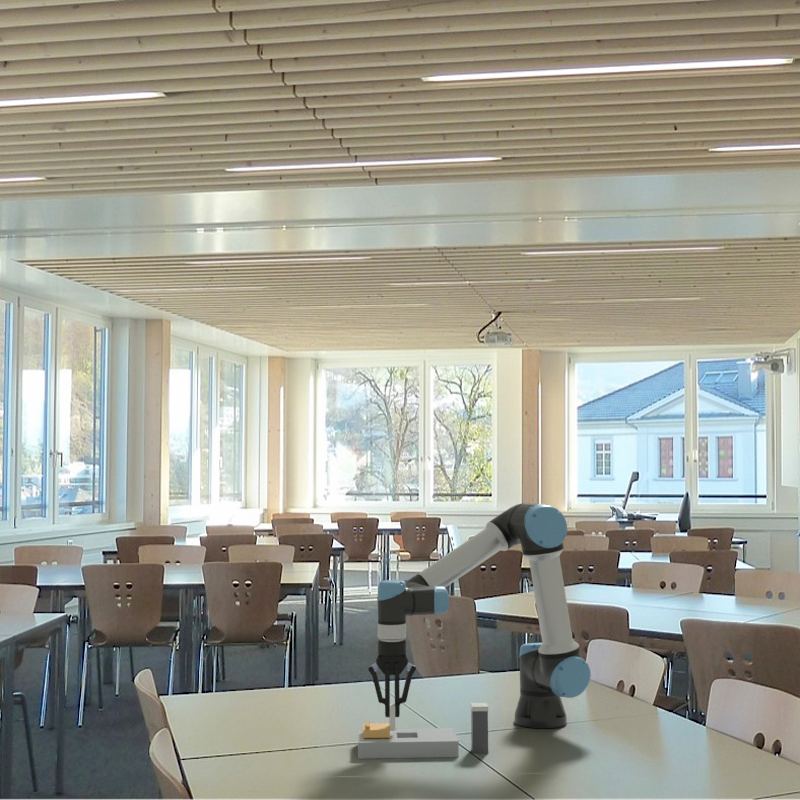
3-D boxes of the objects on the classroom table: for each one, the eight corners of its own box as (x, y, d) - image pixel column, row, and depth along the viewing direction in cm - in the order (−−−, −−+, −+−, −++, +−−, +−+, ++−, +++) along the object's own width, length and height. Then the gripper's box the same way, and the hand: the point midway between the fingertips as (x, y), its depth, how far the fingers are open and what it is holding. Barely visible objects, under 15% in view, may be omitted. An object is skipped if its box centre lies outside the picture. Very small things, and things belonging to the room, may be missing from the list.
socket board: (454, 742, 293) (454, 727, 293) (458, 756, 279) (458, 741, 279) (358, 744, 292) (358, 729, 293) (357, 758, 278) (357, 742, 279)
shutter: (389, 730, 289) (389, 720, 290) (389, 737, 282) (389, 726, 283) (363, 731, 289) (363, 720, 289) (363, 738, 282) (363, 727, 282)
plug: (486, 749, 287) (486, 702, 287) (488, 753, 282) (488, 706, 283) (471, 749, 286) (470, 703, 287) (472, 753, 282) (472, 706, 283)
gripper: (415, 636, 291) (416, 725, 290) (367, 637, 291) (367, 726, 289) (417, 641, 284) (417, 732, 282) (367, 641, 283) (367, 733, 282)
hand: (392, 729), depth 286 cm, fingers closed
